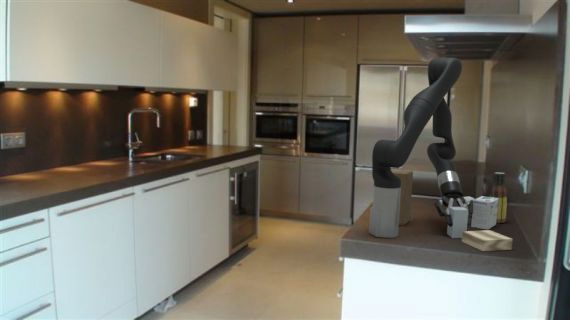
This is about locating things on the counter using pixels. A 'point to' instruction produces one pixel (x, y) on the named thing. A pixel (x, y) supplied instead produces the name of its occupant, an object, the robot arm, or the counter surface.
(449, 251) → the counter surface
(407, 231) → the counter surface
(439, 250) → the counter surface
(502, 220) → the sauce bottle
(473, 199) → the die
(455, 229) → the grey rectangular block
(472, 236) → the beech block
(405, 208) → the wooden block
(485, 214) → the light bulb box
